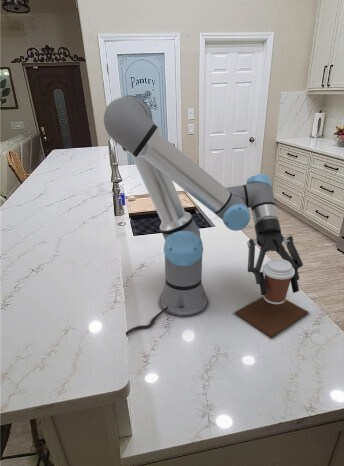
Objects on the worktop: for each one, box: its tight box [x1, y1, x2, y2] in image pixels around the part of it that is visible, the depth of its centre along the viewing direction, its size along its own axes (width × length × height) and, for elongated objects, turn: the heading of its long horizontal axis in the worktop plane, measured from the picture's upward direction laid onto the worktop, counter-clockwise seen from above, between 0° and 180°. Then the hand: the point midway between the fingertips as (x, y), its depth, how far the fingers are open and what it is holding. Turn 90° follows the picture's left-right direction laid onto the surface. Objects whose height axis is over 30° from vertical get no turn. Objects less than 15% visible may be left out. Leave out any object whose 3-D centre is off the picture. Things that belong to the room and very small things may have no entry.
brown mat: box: [234, 296, 309, 339], centre depth 103 cm, size 18×14×1 cm
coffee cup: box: [262, 257, 295, 304], centre depth 98 cm, size 9×9×12 cm
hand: (280, 293), depth 96 cm, fingers closed on coffee cup, 9 cm apart
